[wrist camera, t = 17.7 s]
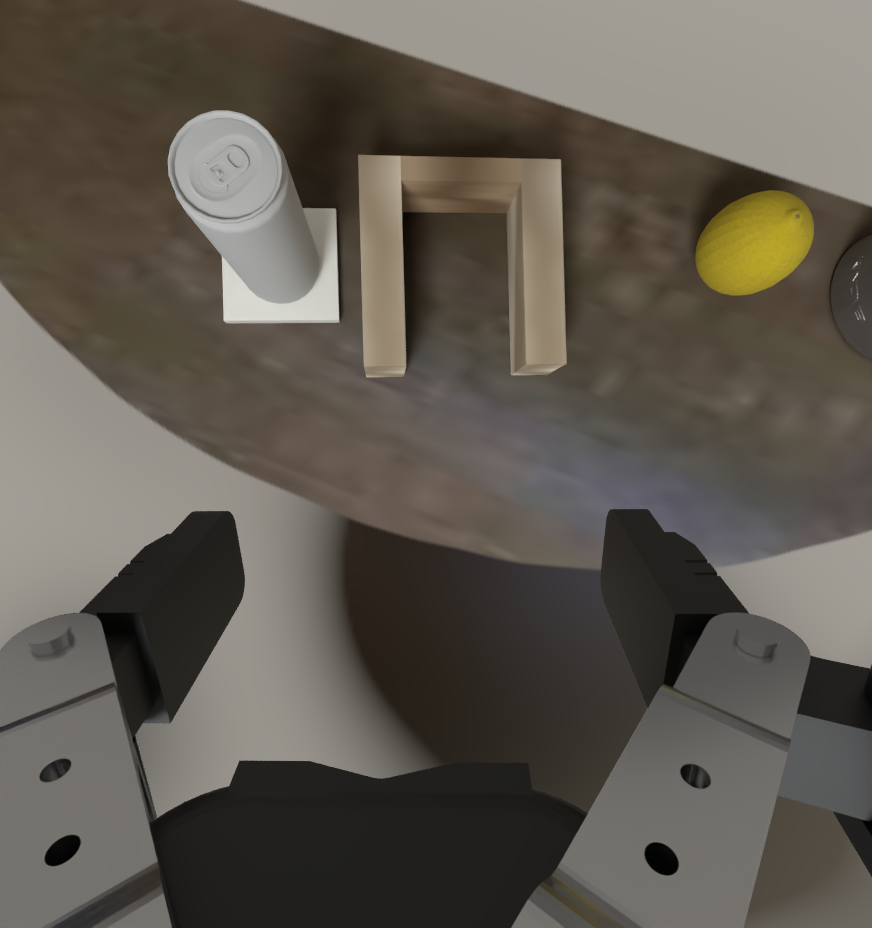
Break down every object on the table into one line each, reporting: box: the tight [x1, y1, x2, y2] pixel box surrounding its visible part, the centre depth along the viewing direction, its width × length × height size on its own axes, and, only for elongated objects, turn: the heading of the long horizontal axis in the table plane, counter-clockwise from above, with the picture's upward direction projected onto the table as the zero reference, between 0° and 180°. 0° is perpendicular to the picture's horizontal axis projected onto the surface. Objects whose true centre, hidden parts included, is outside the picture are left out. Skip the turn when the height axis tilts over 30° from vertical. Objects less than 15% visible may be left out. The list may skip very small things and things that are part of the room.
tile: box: [222, 208, 340, 323], centre depth 35 cm, size 7×7×1 cm
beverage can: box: [168, 110, 320, 304], centre depth 29 cm, size 5×5×12 cm
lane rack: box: [358, 155, 566, 377], centre depth 34 cm, size 12×12×4 cm
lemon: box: [695, 190, 814, 295], centre depth 34 cm, size 6×6×8 cm
